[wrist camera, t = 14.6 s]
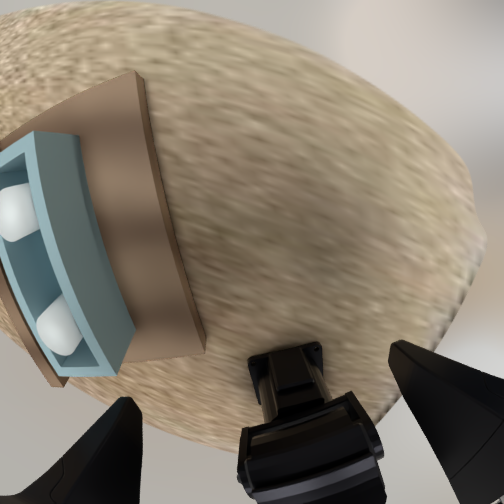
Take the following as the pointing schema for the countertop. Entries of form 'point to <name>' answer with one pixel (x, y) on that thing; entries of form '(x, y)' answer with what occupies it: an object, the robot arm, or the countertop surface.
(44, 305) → the tray
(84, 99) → the walnut shelf
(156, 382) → the countertop surface
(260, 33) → the countertop surface
